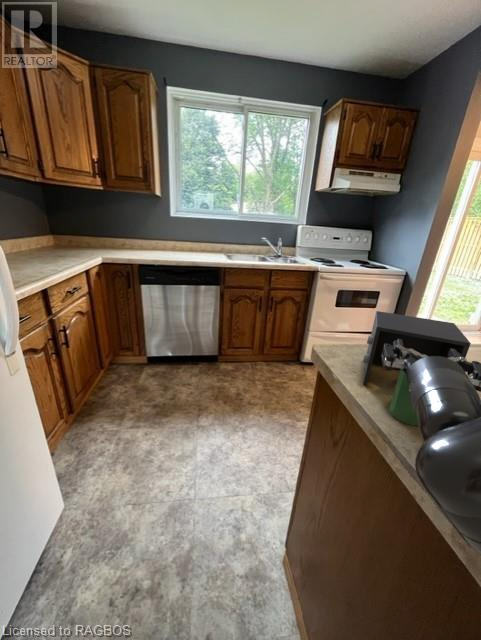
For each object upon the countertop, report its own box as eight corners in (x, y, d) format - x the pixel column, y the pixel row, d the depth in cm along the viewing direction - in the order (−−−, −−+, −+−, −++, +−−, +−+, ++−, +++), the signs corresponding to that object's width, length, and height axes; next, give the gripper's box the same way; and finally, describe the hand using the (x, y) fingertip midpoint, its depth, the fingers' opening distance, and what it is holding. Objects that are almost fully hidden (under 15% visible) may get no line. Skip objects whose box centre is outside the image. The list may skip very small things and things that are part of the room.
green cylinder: (421, 410, 56) (436, 367, 52) (426, 429, 51) (443, 383, 47) (388, 401, 58) (400, 360, 55) (389, 418, 53) (402, 374, 49)
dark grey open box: (435, 377, 68) (454, 323, 63) (447, 406, 57) (471, 343, 52) (360, 360, 75) (372, 310, 70) (358, 383, 64) (371, 325, 59)
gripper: (518, 384, 34) (476, 338, 47) (390, 357, 39) (386, 322, 53) (496, 432, 36) (462, 375, 50) (378, 400, 42) (378, 356, 56)
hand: (423, 348), depth 51 cm, fingers open, 8 cm apart
